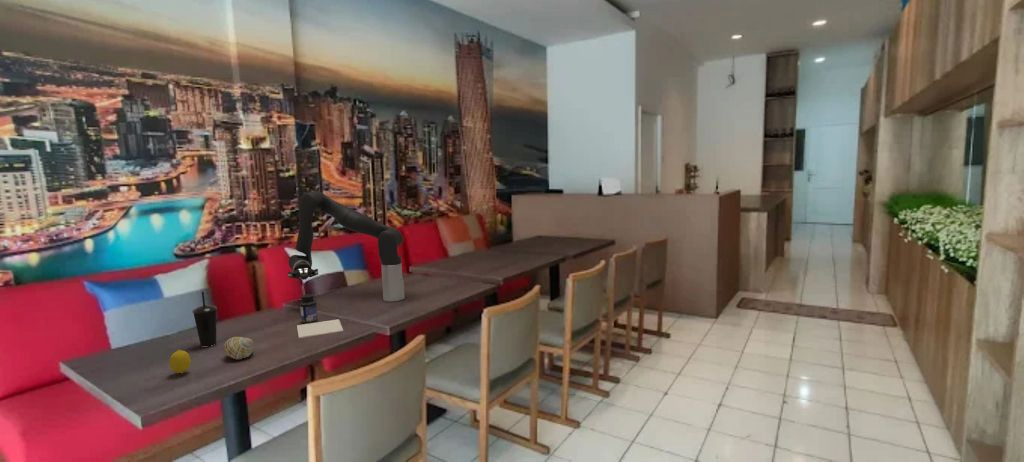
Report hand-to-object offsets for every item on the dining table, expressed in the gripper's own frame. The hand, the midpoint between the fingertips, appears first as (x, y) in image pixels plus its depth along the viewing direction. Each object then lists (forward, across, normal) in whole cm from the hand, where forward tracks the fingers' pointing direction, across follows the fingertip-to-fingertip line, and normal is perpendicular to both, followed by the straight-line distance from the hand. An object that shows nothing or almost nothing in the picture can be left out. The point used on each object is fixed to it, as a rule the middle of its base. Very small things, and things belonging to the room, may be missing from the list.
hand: (304, 277), depth 216 cm
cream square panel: (+23, +3, +16) cm, 28 cm away
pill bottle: (+11, 0, +16) cm, 20 cm away
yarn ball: (+40, -24, +17) cm, 49 cm away
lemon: (+47, -40, +17) cm, 64 cm away
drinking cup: (+22, -35, +17) cm, 44 cm away
